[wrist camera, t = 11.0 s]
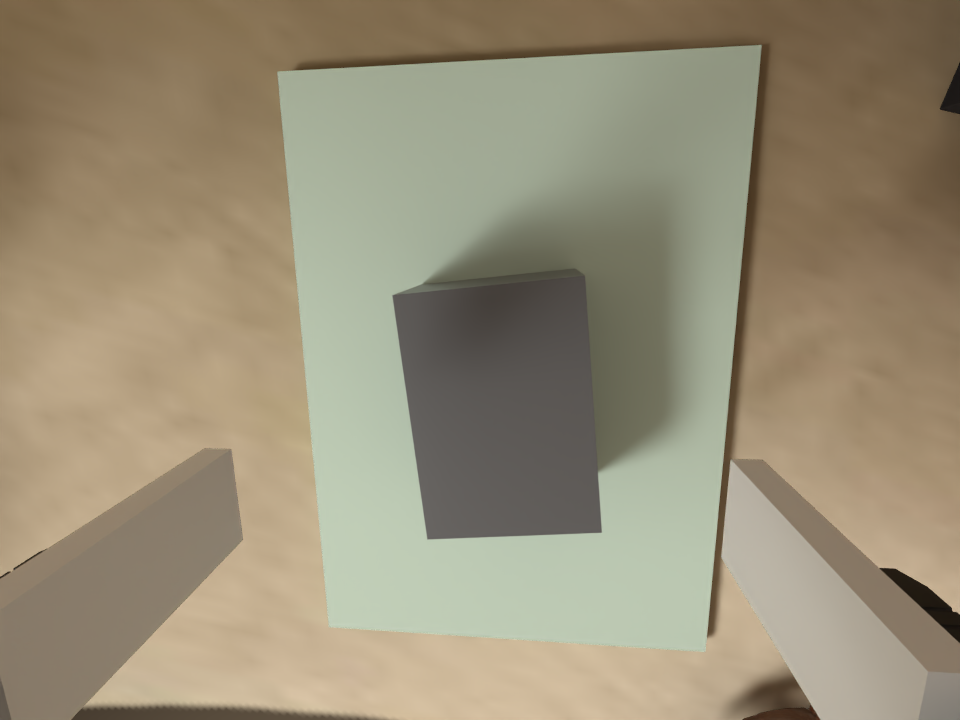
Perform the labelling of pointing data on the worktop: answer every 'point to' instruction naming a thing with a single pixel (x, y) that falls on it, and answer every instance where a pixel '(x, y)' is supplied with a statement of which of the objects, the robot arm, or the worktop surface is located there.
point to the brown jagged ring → (787, 714)
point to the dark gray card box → (501, 404)
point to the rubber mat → (519, 250)
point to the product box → (953, 95)
